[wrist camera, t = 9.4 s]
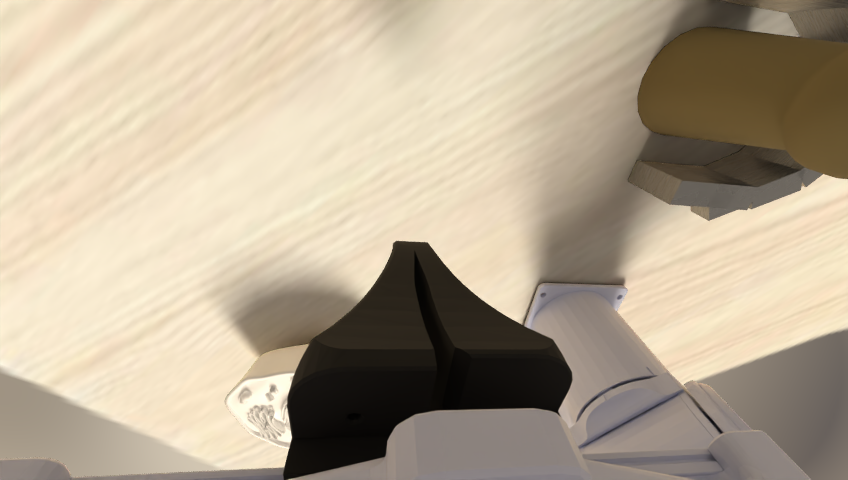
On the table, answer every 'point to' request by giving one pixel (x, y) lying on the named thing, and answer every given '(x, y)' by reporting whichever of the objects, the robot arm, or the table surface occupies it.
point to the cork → (753, 94)
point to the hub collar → (752, 166)
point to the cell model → (267, 395)
